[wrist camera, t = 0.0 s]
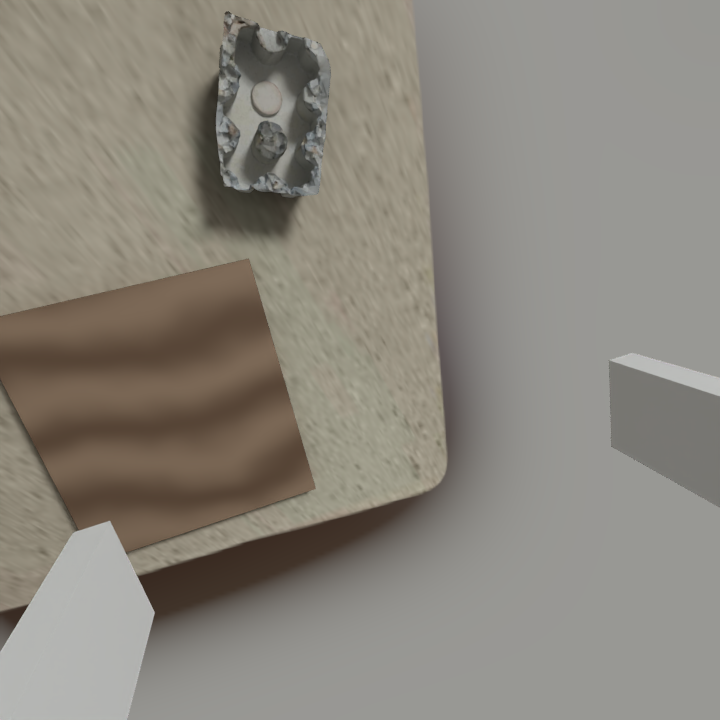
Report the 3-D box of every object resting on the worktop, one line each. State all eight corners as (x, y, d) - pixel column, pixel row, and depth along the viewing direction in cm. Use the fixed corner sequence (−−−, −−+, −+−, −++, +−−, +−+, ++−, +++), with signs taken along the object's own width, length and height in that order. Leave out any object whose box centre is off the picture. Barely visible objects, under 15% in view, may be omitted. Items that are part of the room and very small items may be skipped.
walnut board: (-19, 320, 31) (-29, 323, 30) (248, 258, 35) (248, 259, 34) (100, 553, 38) (95, 562, 37) (313, 482, 42) (315, 488, 40)
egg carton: (219, 29, 30) (221, -3, 26) (322, 60, 32) (337, 35, 29) (212, 189, 32) (213, 181, 28) (309, 206, 34) (322, 200, 31)
